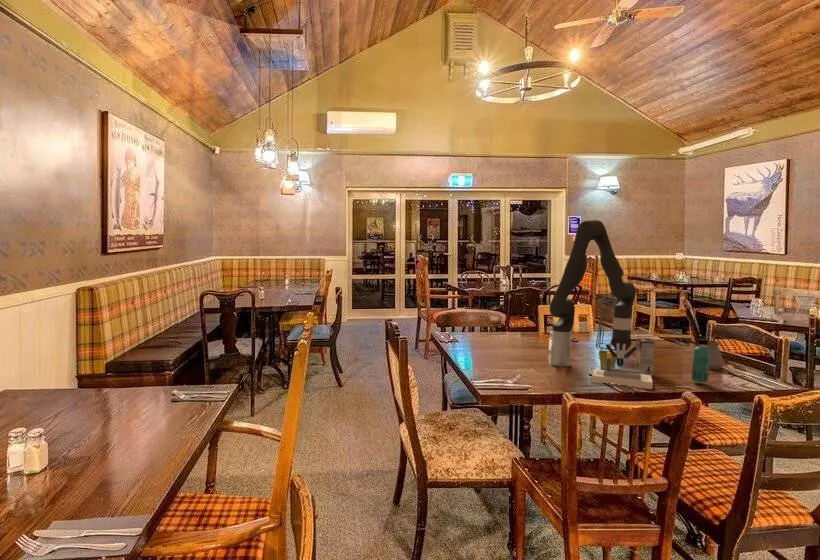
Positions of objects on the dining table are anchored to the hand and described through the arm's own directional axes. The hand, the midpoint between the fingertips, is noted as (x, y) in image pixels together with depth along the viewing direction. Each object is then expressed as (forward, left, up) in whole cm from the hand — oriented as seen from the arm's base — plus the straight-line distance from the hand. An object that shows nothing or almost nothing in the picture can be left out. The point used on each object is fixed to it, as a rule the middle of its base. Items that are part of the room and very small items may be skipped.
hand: (619, 366), depth 224 cm
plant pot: (-5, +19, -7) cm, 21 cm away
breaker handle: (-5, 0, -4) cm, 6 cm away
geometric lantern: (-4, +55, -7) cm, 56 cm away
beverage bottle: (+33, +12, -7) cm, 36 cm away
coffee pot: (+38, +46, -7) cm, 60 cm away
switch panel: (+1, 0, -7) cm, 7 cm away
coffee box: (+11, +21, -7) cm, 25 cm away
